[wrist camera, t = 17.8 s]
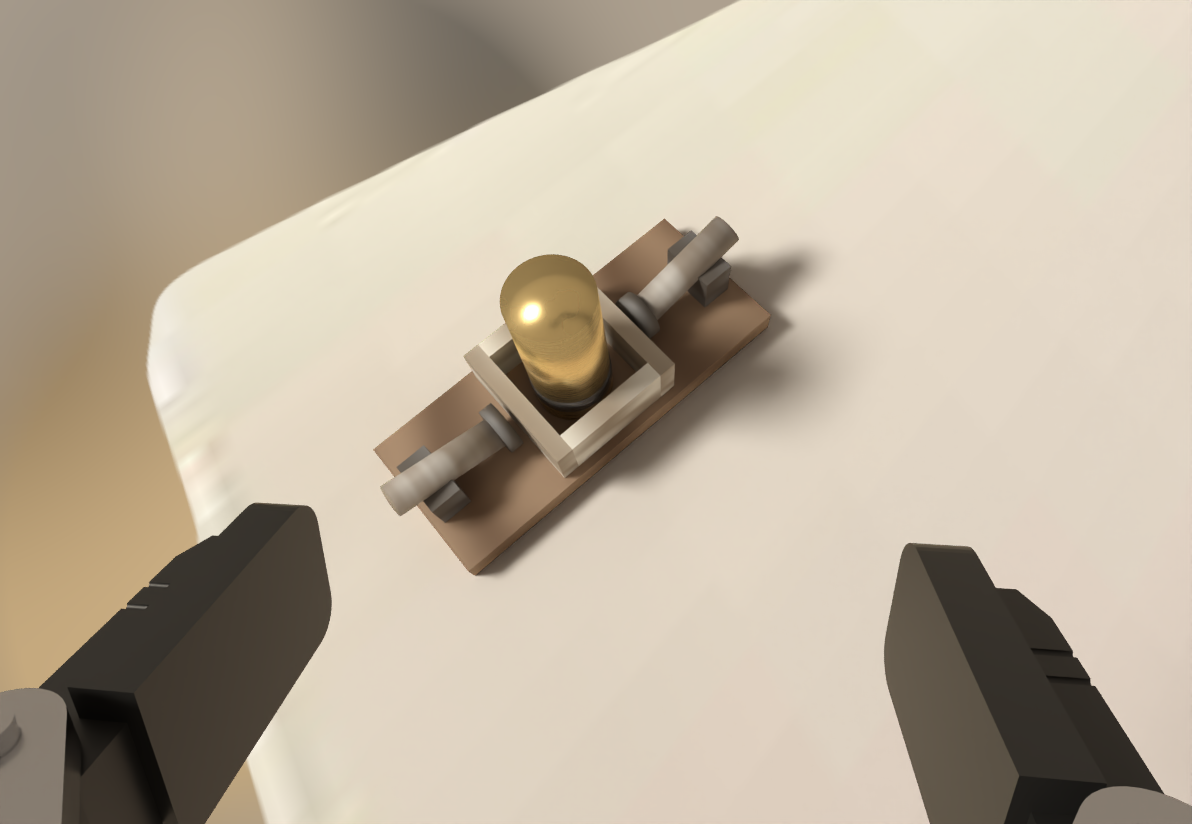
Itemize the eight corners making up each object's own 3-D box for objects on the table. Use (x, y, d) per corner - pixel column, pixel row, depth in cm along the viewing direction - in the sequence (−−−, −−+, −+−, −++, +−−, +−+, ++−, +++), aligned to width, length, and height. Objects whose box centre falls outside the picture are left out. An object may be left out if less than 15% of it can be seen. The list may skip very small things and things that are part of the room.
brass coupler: (579, 332, 44) (555, 235, 35) (630, 385, 43) (620, 299, 34) (519, 381, 44) (478, 295, 34) (569, 437, 42) (541, 362, 33)
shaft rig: (674, 225, 48) (674, 167, 43) (777, 318, 45) (792, 269, 40) (371, 466, 44) (331, 435, 39) (463, 585, 41) (434, 569, 36)
